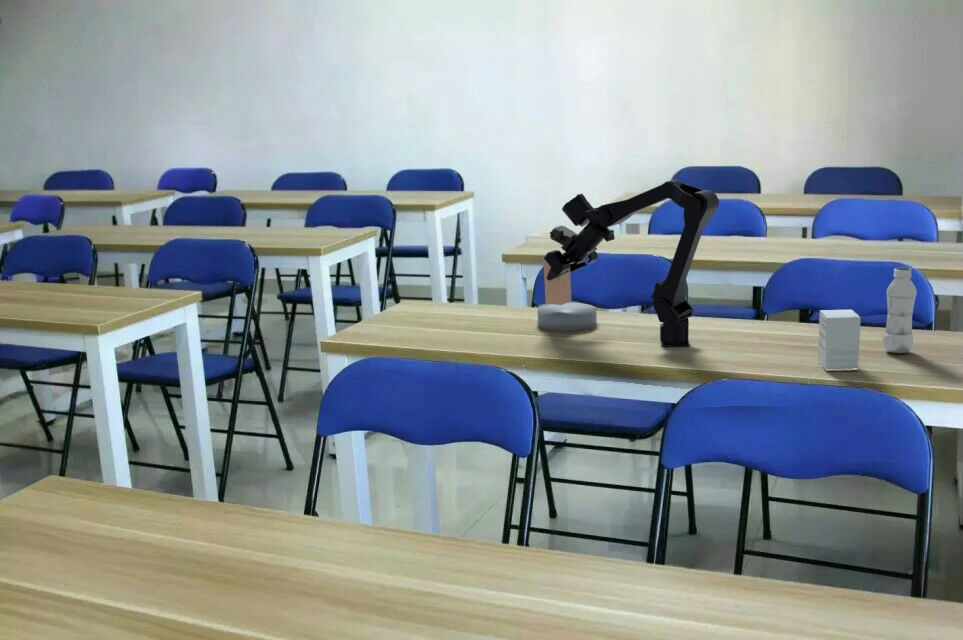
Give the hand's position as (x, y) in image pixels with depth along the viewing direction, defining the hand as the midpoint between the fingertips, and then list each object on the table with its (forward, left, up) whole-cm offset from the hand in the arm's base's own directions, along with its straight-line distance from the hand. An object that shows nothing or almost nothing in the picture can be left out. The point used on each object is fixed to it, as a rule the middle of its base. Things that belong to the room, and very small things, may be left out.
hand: (553, 277), depth 269 cm
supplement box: (-66, +38, -14) cm, 78 cm away
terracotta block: (-1, +1, -7) cm, 7 cm away
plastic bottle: (-82, +26, -14) cm, 87 cm away
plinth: (-3, -2, -13) cm, 14 cm away
